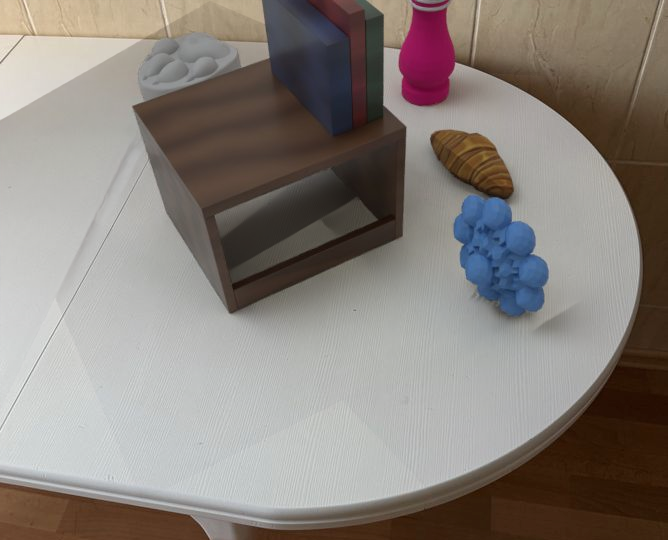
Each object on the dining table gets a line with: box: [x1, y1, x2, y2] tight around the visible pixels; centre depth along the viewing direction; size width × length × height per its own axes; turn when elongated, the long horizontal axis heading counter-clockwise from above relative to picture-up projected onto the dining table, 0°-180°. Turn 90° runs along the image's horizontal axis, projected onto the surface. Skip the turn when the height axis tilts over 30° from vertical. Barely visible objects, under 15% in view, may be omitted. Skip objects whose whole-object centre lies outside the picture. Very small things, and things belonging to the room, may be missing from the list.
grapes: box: [452, 194, 550, 317], centre depth 66 cm, size 12×7×12 cm, turn 38°
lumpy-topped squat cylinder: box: [137, 31, 242, 102], centre depth 90 cm, size 10×13×9 cm
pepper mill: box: [397, 0, 456, 107], centre depth 85 cm, size 7×7×20 cm
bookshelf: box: [131, 0, 408, 314], centre depth 69 cm, size 18×21×25 cm
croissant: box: [429, 129, 515, 201], centre depth 81 cm, size 14×7×5 cm, turn 34°
